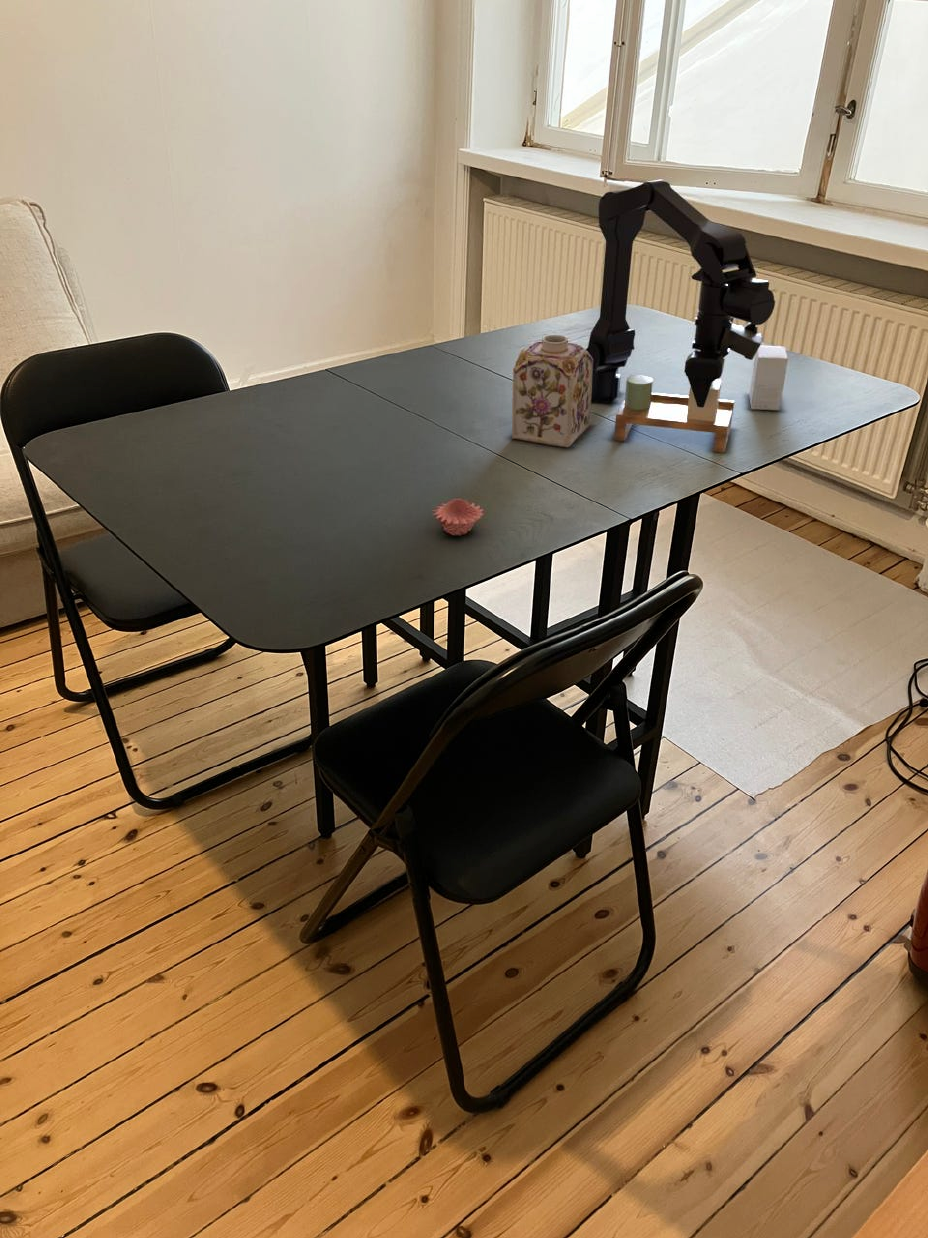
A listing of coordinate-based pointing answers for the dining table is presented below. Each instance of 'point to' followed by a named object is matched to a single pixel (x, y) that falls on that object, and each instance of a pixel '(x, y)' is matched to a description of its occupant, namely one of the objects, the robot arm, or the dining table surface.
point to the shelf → (675, 418)
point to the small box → (768, 377)
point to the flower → (458, 516)
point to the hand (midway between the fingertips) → (703, 397)
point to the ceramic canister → (638, 392)
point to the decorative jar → (552, 392)
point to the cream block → (710, 405)
